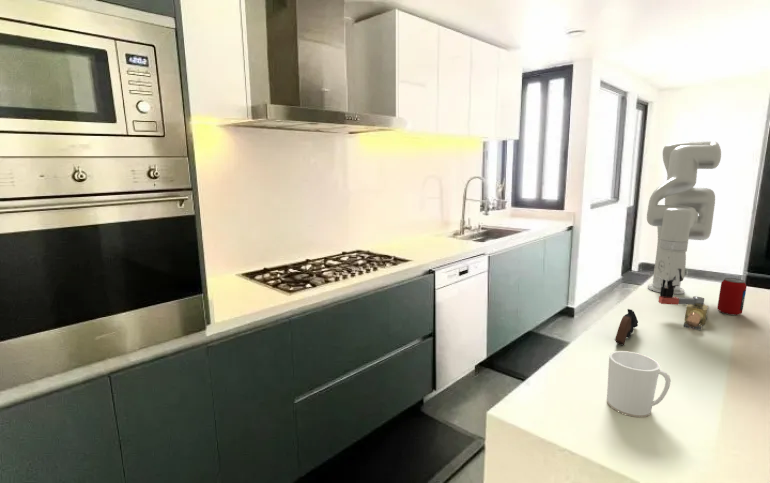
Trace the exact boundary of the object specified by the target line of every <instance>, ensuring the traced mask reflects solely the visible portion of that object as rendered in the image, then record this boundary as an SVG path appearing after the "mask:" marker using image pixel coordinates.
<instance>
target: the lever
mask: <svg viewBox="0 0 770 483" xmlns="http://www.w3.org/2000/svg"><path fill="white" fill-rule="evenodd" d="M658 303H659V304H661V305H673V306H674V305H675V306H676V305H688V304H689V305H693V306H697V307H703V305H704V304H705V298H704V297H702V296H701V297H700V296H692V297H677V296H673V297H669V296H660V295H659V296H658Z"/></svg>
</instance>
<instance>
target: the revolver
mask: <svg viewBox="0 0 770 483" xmlns="http://www.w3.org/2000/svg"><path fill="white" fill-rule="evenodd" d="M638 323H639V321H638V318H637V316H636V313H635V311H634V310H633V309H630V308H627V313H626V314H624V315H623V316H622V318H621V321H620V323H619V326H618V328H617V332H616V335H615V338H614V341H615V343H616V344H617V345H622V346H625V344H626V340H627V339H631V337H632V334H633V333H634V330H635V328H637V327H638V326H639V324H638Z"/></svg>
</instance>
